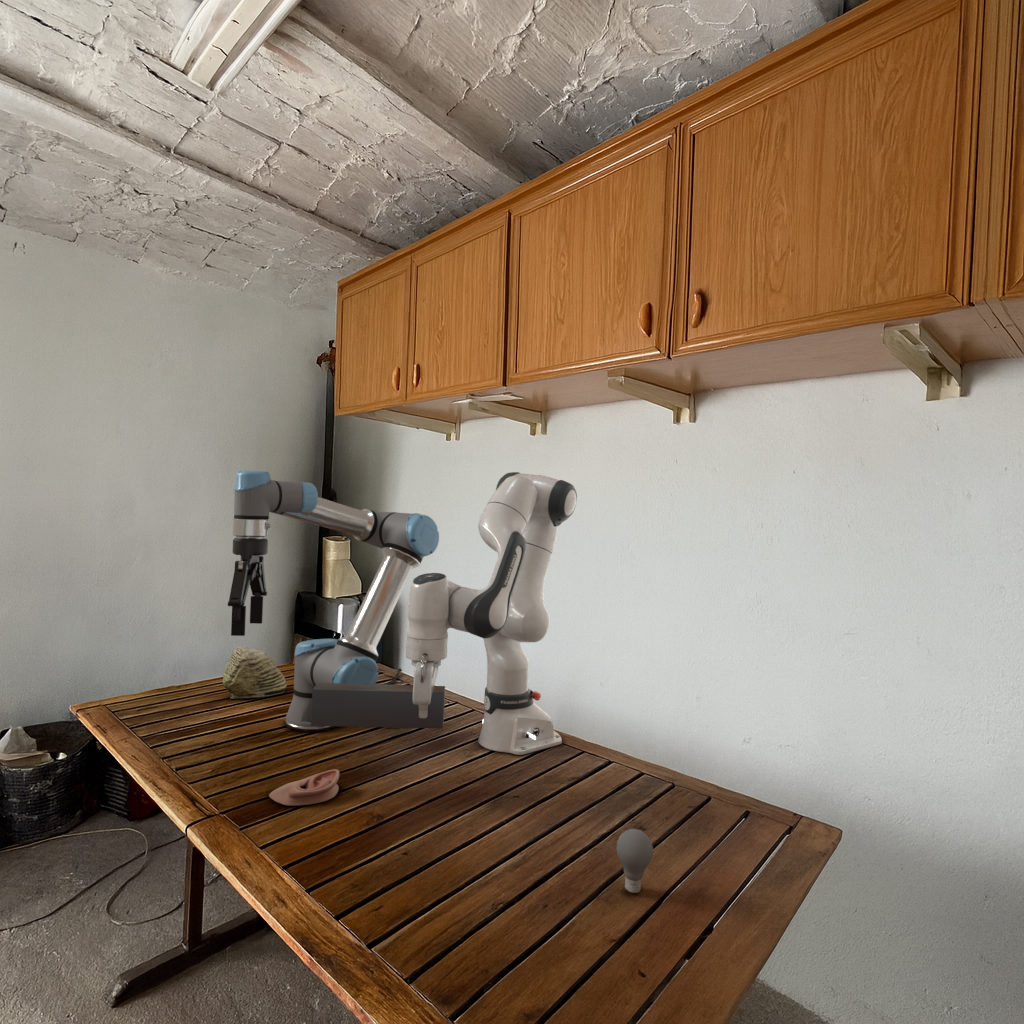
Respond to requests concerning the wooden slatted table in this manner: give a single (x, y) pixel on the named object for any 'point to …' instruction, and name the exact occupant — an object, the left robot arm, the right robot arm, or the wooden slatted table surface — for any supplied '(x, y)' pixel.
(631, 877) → the light bulb
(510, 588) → the right robot arm
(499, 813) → the wooden slatted table surface
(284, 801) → the anatomical model
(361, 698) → the bar
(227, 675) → the fossil
